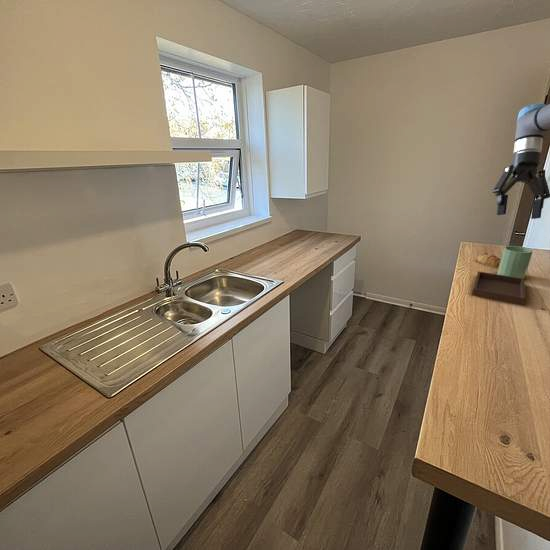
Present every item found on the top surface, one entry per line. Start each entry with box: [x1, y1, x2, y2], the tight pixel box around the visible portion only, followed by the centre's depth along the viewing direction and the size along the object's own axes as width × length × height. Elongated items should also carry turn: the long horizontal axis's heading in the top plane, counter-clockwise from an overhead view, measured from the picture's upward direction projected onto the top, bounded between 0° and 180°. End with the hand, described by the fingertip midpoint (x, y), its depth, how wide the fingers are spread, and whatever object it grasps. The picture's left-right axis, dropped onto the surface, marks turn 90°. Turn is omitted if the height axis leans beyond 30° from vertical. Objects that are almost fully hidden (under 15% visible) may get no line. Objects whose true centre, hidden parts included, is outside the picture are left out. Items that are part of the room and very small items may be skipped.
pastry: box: [476, 252, 501, 268], centre depth 124 cm, size 9×7×4 cm
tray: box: [471, 271, 527, 306], centre depth 102 cm, size 18×14×3 cm
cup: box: [496, 245, 534, 280], centre depth 110 cm, size 8×8×11 cm
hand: (518, 216), depth 104 cm, fingers open, 13 cm apart
